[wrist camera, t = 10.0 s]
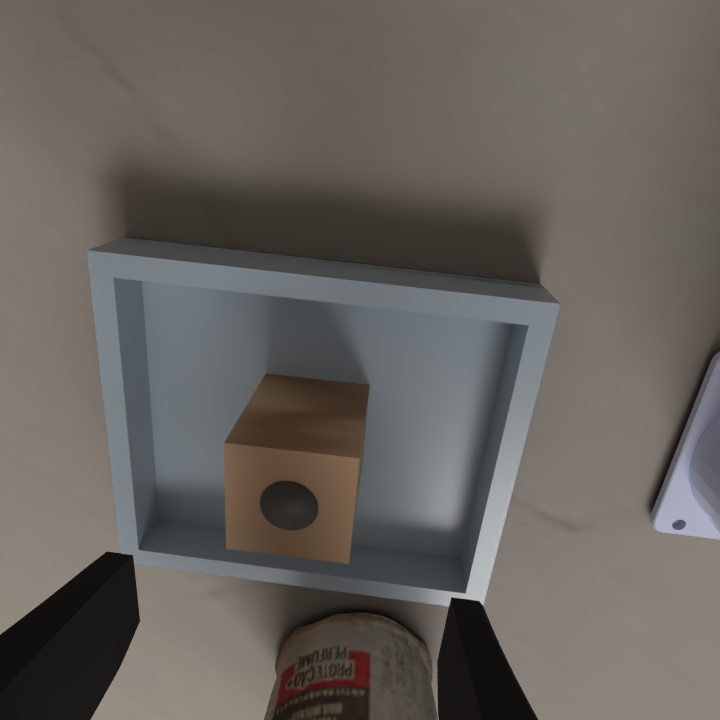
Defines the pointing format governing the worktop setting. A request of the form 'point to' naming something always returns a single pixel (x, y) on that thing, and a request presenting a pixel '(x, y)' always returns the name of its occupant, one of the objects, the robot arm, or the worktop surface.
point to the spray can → (352, 672)
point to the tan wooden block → (296, 468)
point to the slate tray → (326, 362)
